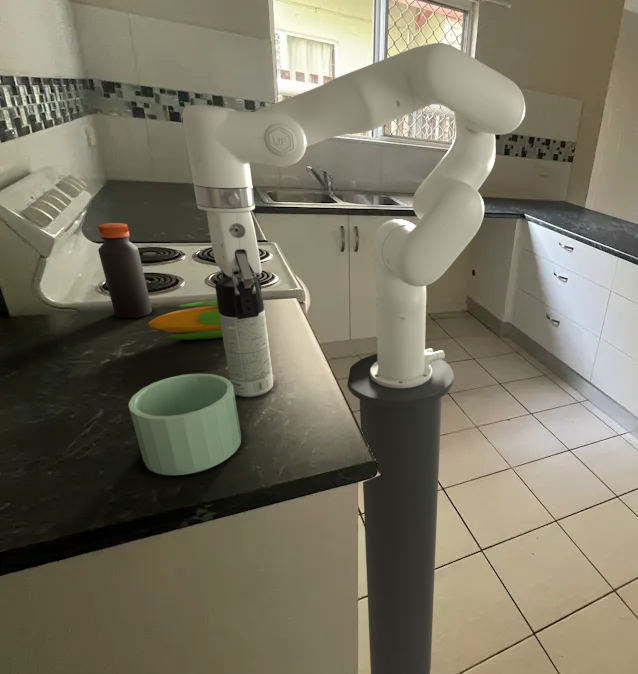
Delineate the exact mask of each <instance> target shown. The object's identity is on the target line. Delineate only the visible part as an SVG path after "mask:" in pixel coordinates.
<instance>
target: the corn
mask: <svg viewBox="0 0 638 674" xmlns="http://www.w3.org/2000/svg"><path fill="white" fill-rule="evenodd" d="M177 307H179V308H186V309H180V310H176V311H172V312H167V313H164V314H162V315H159V316H156V317H155V318H153V319H151V320H150V321H149V322H147V325H148V326H149V328H151V329H154V330H155V331H160V332H166V333H172V334H168V335H166V336H165V338H166V339H171V340H183V341H184V340H186V341H191V340H192V341H193V340H194V341H195V340H210V339H217V338H218V339H220V338H223V335H222V329H221V324H220V317H219V310H218V304H217V300H211V301H198V302H197V301H196V302H191V303H184V304H180V305H177ZM187 307H188V308H187ZM189 307H190V308H189Z"/></svg>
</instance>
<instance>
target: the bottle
mask: <svg viewBox="0 0 638 674" xmlns="http://www.w3.org/2000/svg"><path fill="white" fill-rule="evenodd" d="M97 229H98V232H99V235H100V238H101V240H103V243H102V244H101V245H100V247H98V255H99V258H100V263H101V267H102V271H103V274H104V277H105V282H106V286H107V289H108V293H109V298H110V300H111V305H112V308H113V312H114V316H115V317H117V318H120V319H137V318H142V317H146V316H148V315H150V314H151V313H152V312H153V308H152V304H151V300H150V295H149V291H148V286H147V282H146V277H145V272H144V267H143V264H142V259H141V255H140V251H139V247H138V246H137V245H135V244H134V243H133V242H131V241H130V240H129V238H131V237H130V231H129V226H128V224H127V223H123V222H107V223H101V224H97Z"/></svg>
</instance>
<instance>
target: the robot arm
mask: <svg viewBox="0 0 638 674" xmlns="http://www.w3.org/2000/svg"><path fill="white" fill-rule="evenodd" d="M432 105H434V106H442V107H444V108H446V109H448V110H450V111H451V112H452V113H453V119H454V128H455V129H454V139H453V142H452V144H451V146H450V148H449V149H448V151H447V152H446V153H445V155H444V156H443V157H442V159H441V160H440V161H439V162H438V163H437V165H435V168H433V170H432V171H431V172H430V173H429V174H428V175H427V177H426V178H425V179H424V180H423V181H422V183H420V185H419V186H418V188H417V189H416V191H415V192H414V194H413V196H412V197H413V198H412V209H413V212H414V214H415V216H416V217H417V219H419V221H418V222H416V224H415V223H412V222H411V221H407V220H404V219H390V220H388V221H386V222H384V223H382V224H381V225H380V226H379V227H378V228H377V229H376V231H375V233H373V238H372V241H371V257H372V264H373V271H374V279H375V280H374V281H375V297H376V298H375V302H376V304H375V306H376V307H375V309H376V311H375V312H376V354H377V358H378V361H377V362H376V363H374V364H373V365H372V366H371V368H370V377H371V379H372V380H373V381H374V382H376V383H377V384H379V385H382V386H385V387H389V388H411V387H415V386H419V385H421V384H423V383H425V382H427V381H428V380H429V379H430V378H431V375H432V368H431V366H430V364H431V363H432V362H433V361H435V360H436V361H437V360H440V359H442V360H444V359H445V358H446V354H445V351H444V350H443V349H441V350H437V351H434V349H433V348H426V326H427V325H426V324H427V323H426V321H427V320H426V318H427V317H426V316H427V286H429V285H432V284H433V283H434V282H436V281H438V280H439V279H440V278H441V277H442V276H443V275H444V274H445V272H446V271H447V270H448V269H449V268H450V267H451V265H452V264H453V263H454V262H455V261H456V259H458V257H459V256H460V254H462V252H463V251H464V250H465V248H467V246H468V245H469V244H470V242H471V241H472V240H473V239H474V237H475V236H476V234H477V233H478V231H479V230H480V228H481V225H482V223H483V220H484V215H485V204H484V199H483V197H482V196H481V193H480V192H479V190H480V188H481V187H482V185H483V184H484V182H485V181H486V180H487V178H488V177H489V175H490V173H491V172H492V170H493V167H494V164H495V161H496V135H499V136H502V135H508V134H510V133H513V132H514V131H515V130H517V128H518V127H520V125H521V124H522V122H523V120H524V118H525V113H526V101H525V97H524V94H523V93H522V90H521V89H520V87H519V86H518V84H516V82H515V81H514V80H511V79H510V78H509V77H507V76H506V75H504V74H502V73H500V72H499V71H497V70H495V69H493V68H491V67H490V66H488V65H486V64H485V63H483V62H481V61H480V60H478V59H476V58H475V57H473V56H471V55H469V54H468V53H466V52H464V51H462V50H461V49H459V48H457V47H455V46H452V45H450V44H447V43H445V42H434V43H429V44H424V45H420V46H415V47H412V48H409V49H407V50H404V51H402V52H399V53H397V54H396V53H395V54H394V55H392V56H389V57H387V58H384V59H381V60H379V61H376V62H374V63H371V64H369V65H366V66H364V67H361V68H358V69H356V70H353V71H350V72H347V73H345V74H343V75H340V76H338V77H335V78H333V79H331V80H329V81H327V82H325V83H323V84H321V85H319V86H317V87H314V88H311V89H309V90H306V91H304V92H302V93H299V94H296V95H293V96H290V97H288V98H286V99H282V100H280V101H278V102H276V103H272V104H269V105H268V106H265V107H262V108H260V109H257V110H256V111H238V110H236V109H233V108H230V107H222V106H213V105H212V106H211V105H200V104H199V105H198V104H192V105H191V104H190V105H187V106H186V107H184V108H183V111H182V115H181V116H182V125H183V130H184V136H185V142H186V148H187V153H188V160H189V165H190V172H191V178H192V183H193V190H194V195H195V201H196V202H195V203H196V206H197V207H196V208H197V209H198V210H200V211H205V212H206V218H207V224H208V225H207V226H208V232H209V238H210V244H211V249H212V254H213V258H214V261H215V264H216V265H217V267H218V268H219V269H220V277H221V278H223V277H227V276H228V277H231V280H232V284H233V288H234V292H235V294H233V301H234V307H235V314H236V317H237V319H245V318H251V317H257V316H258V315H259V311H258V303H257V295H256V290H255V286H254V281H253V277H254V275H253V274H255V275H257V276H260V275H261V274H262V272H263V268H262V263H261V258H260V251H259V244H258V240H257V239H258V238H257V234H256V229H255V224H254V220H253V216H252V213H251V211H253V210H255V209H256V204H255V197H254V188H253V181H252V174H251V173H252V172H251V165H250V163H254V164H255V163H256V164H261V165H268V166H274V167H289V166H292V165H294V164H296V163H298V162H299V161H300V160H301V159H302V158H303V157H304V156H305V154H306V152H307V151H306V150H307V147H309V146H312V145H315V144H318V143H320V142H322V141H326V140H329V139H332V138H336V137H339V136H345V135H355V134H362V133H366V132H370V131H373V130H376V129H379V128H380V127H383V126H385V125H387V124H389V123H391V122H394V121H396V120H398V119H400V118H403V117H405V116H408V115H410V114H412V113H415V112H418V111H420V110H422V109H424V108H426V107H429V106H432ZM252 272H253V273H252ZM237 279H241V280H242V281H239V283H238V282H237ZM238 284H239V287H238Z"/></svg>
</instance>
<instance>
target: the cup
mask: <svg viewBox="0 0 638 674" xmlns="http://www.w3.org/2000/svg"><path fill="white" fill-rule="evenodd" d="M127 405H128V409H129V413H130V418H131V420H132V424H133V427H134V432H135V435H136V439H137V442H138V443H137V444H138V447H139V451H140V453H141V457H142V462H143V463H144V466H145V467H146V468H147V469H148V470H149V471H150V472H152V473H154V474H155V473H156V474H158V475H162V476H183V475H185V476H186V475H190V474H195V473H200V472H203V471H206V470H208V469H211V468H214V467H215V466H217V465H220V464H221V463H223V462H224V461H226V460H228V459H229V458H231V457H232V456H233V455H234V454H235V453H236V452H237V451H238V449H239V448H240V446H241V442H242V432H241V426H240V425H241V424H240V419H239V414H238V407H237V402H236V395H235V394H234V389H233V385H232V383H231V382H230V379H228V378H226V377H224V376H222V375H218V374H214V373H188V374H187V373H186V374H181V375H175V376H171V377H167V378H164V379H161V380H158V381H154V382H152V383H150V384H149V385H147V386H144V387H142V388H141V389H140V390H138V391H136V393H134V394H133V395H132V396H131V398H130V400H129V402H128V404H127Z"/></svg>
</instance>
